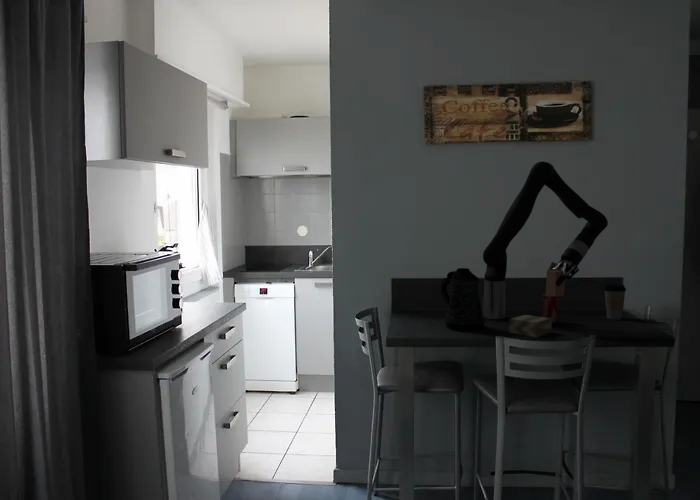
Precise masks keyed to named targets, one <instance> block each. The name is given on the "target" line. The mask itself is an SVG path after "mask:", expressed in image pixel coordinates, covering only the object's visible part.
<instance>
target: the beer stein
mask: <svg viewBox="0 0 700 500" xmlns="http://www.w3.org/2000/svg"><path fill="white" fill-rule="evenodd" d="M479 284H480V278H479V277H478V276H477V275H476V274H474V273H473V272H472V271H471V270H470V268H466V267H459V268H457V269H456V270H453V271H450V272H448V273H447V274H446V277H445V278H443V279H442V280H441V283H440V286H439V288H440V293H441V297H442V299H443V301H444V302H445V303H446V304H447V306H448V310H447V314H446V316H445V327H446V329H448V330H451V331H457V332H458V331H459V332H478V331H482V330H484V329H485V321H486V320H485V319H486V318H484V317H483V309H482V307H481V306H482V305H481V299H480V294H479ZM448 285H451V288H450V295H449V293H448Z"/></svg>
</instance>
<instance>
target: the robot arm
mask: <svg viewBox="0 0 700 500" xmlns="http://www.w3.org/2000/svg"><path fill="white" fill-rule="evenodd" d="M545 186H546V187H547V188H548V189H550V190H551V191H552V192H553V193H554V194H555V195H556V196H557V197H558V199H559V200H560V201H561V202H562V204H563V205H564V206H565V207H566V209H567V210H568V211H570V212H571V213H572V214H573V215H574V216H575V217H576V218H577V219H584V220H585V221H586V223H585V224H584V226H583V228H582V229H581V231H580V232H579V233H578V234H577V236H576V237H575V238H574V240H572V241H571V243H569V245H568V247H566V249H565V250H564V252H563V253H562V254H561V256H560V259H559V261H558V262H557V263H556V262H554V261H552V262H551V263H550V265H549V266H548V269H547V270H561V271H563V273H562V274H561V276H560V277H559V278H558V280H557V281H556V282H555V284H556V285H557V286H560V285H561V284H562V283H563V281H564V280H565V281H566V280H568V281H569V280H571V279H572V278H573V277H574V276H575V275H576V274H577V273H579V271H580V268H579V267H578V266H579V264H580V263H581V262H582V261H583V259H584V258H585V256H587V254H588V251H589V250H590V249H591V247H592V246H594V245H593V244H594V243H595V241H596V239H597V238H598V237H599V236H600V235H601V233H602V232H603V231H604V230H605V229H606V228H607V227H608V223H609V222H608V219H607V216H606V215H604V214H603V213H602V212H601V211H599V210H597V209H596V208H595V207H593V206H591V205H590V204H588V203H587V202H586V200H585V199H583V198H582V197H581V196H580V195H579V194H578V193H577V191H575V190H574V189H573V188H571V187H570V186H569V185H568V183H566V181H564V179H563V178H562V177H561V176H560V174H559V173H558V172H557V170H556V169H555V167H554V166H553V164H551V163H550V162H547V161H538V162H536V163H534V165H532V167H531V169H530V171H529V173H528V175H527V178H526V180H525V182H524V184H523V186H522V188H521V190H520V191H519V192H518V194H517V195H516V197H515V198H514V200H513V202H512V204H511V205H510V206H509V208H508V210H507V212H506V213H505V215H504V217H503V219H502V221H501V223H500V226H499V227H498V229H497V231H496V233H495V235H494V236H493V238H492V239H491V241H490V242H489V243H488V245H487V246H486V247H485V249H484V250H483V252H482V259H483V262H484V264H485V265H486V268H485V269H486V270H485V272H484V278H483V279H484V280H483V281H484V284H483V285H484V291H483V292H484V295H483V297H482V314H483V317H484V319H487V320H503V319H505V318H506V275H507V271H508V270H507V269H508V268H507V265H508V253H507V249H508V248H509V245H510V244H511V242H512V241H513V239H514V238H515V237H516V236H517V235H518V233H520V231H521V230H522V229H523V228H524V226H525V225H526V223H527V221H528V220H529V217H530V216H531V214H532V212H533V209H534V206H535V204H536V200H537V198H538V195H539V194H540V192H541V191H542V189H543V188H544V187H545ZM544 281H545V283H546V279H545V280H544Z"/></svg>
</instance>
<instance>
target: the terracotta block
mask: <svg viewBox="0 0 700 500" xmlns="http://www.w3.org/2000/svg"><path fill="white" fill-rule="evenodd" d="M562 273H563V271H561V270H548V269H547V270H546V279H545V280H546V282H545V294H546V295H550V296H556V297H561V296H562V297H563V296H565V285H566V284H565V282H566V280H564V281H563V283H562V284H561V285H560V286H557V285H556V284H555V282H556V281H557V280H558V278H559V277H560V276H561V274H562Z"/></svg>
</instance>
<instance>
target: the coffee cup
mask: <svg viewBox="0 0 700 500" xmlns="http://www.w3.org/2000/svg"><path fill="white" fill-rule="evenodd" d="M603 290H604V299H605V308H606V318H607V319H608V320H613V321H617V320H618V321H619V320H622V317H623V309H624V306H625V305H624V303H625V299H626V297H625V293H626V291H627V288H626V287H625V285H624V284H619V283H618V284H617V283H616V284H615V283H612V284H610V283H609V284H607V283H606V284H605V286H604V287H603Z"/></svg>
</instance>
